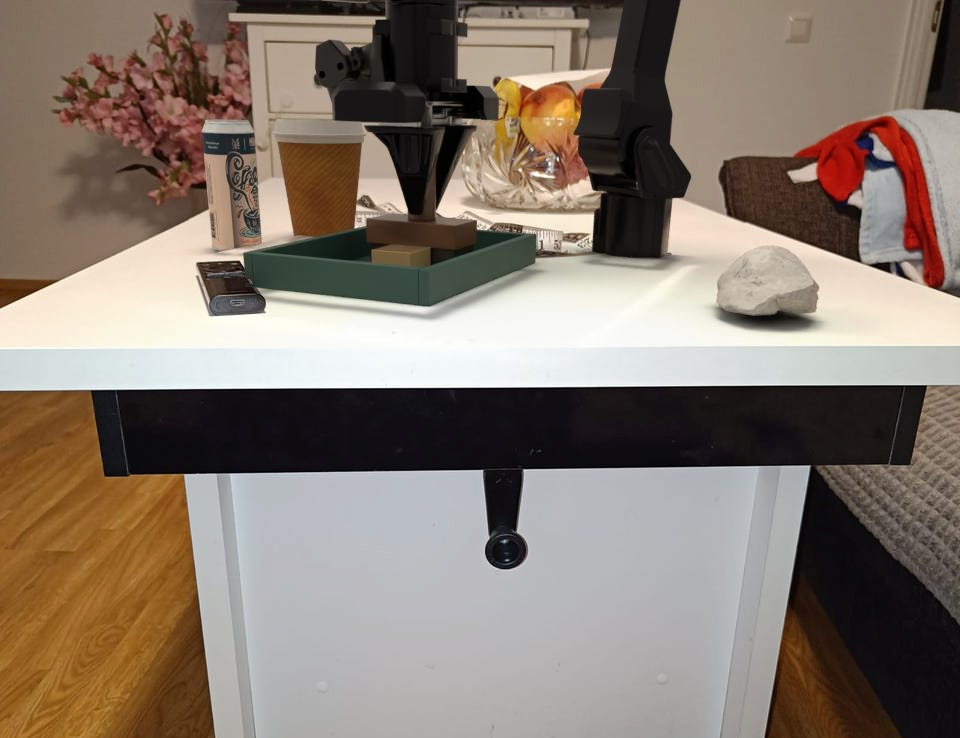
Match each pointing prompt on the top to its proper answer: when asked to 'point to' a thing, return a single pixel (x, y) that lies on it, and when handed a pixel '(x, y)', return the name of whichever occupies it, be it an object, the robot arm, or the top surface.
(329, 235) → the tray
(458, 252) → the scrub brush
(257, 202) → the coffee drink can
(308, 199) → the disposable coffee cup
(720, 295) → the grey stone
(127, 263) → the top surface
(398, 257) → the tan square block
